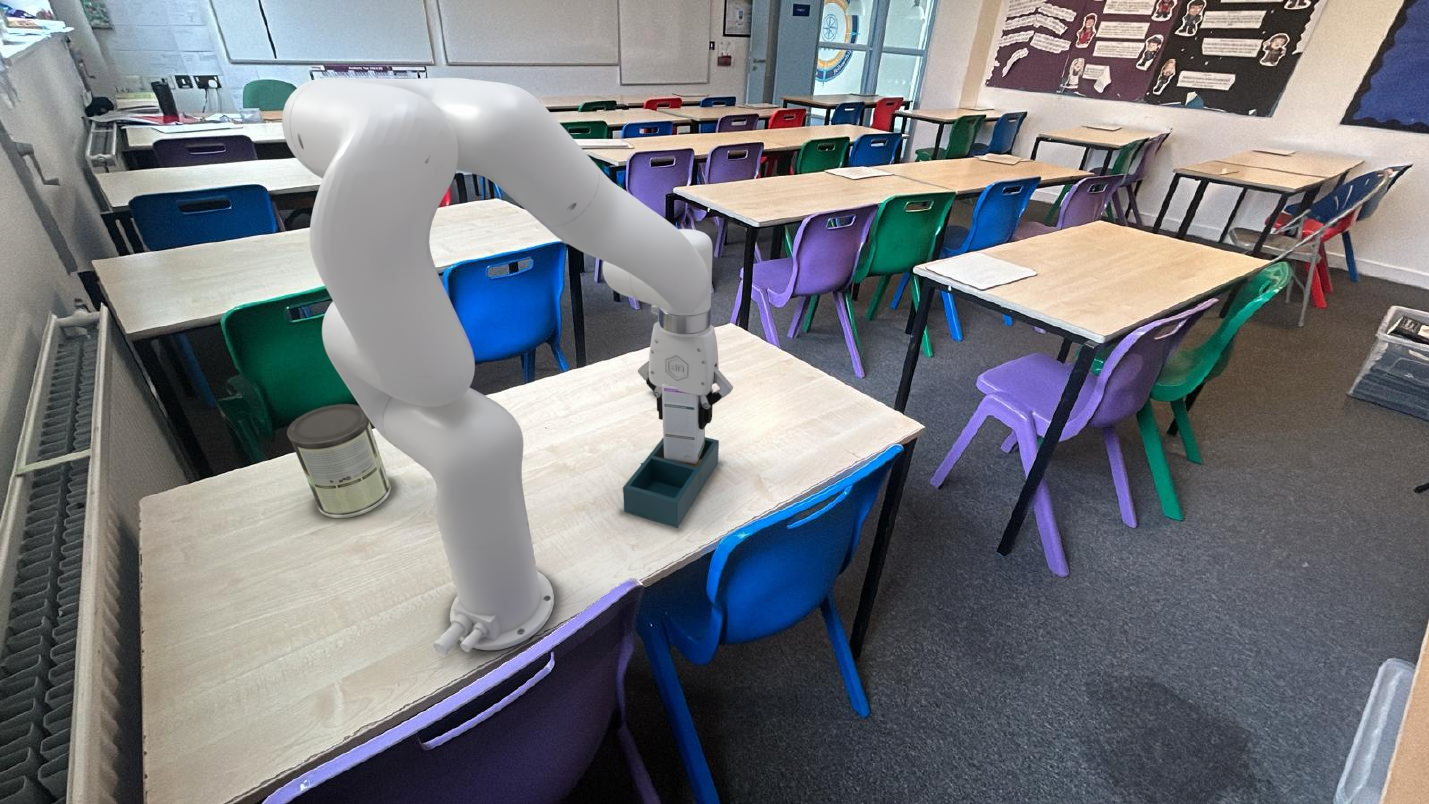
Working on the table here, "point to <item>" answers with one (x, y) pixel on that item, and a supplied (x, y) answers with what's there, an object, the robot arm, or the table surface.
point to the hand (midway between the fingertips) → (684, 419)
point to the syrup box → (681, 425)
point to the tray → (668, 485)
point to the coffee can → (340, 460)
